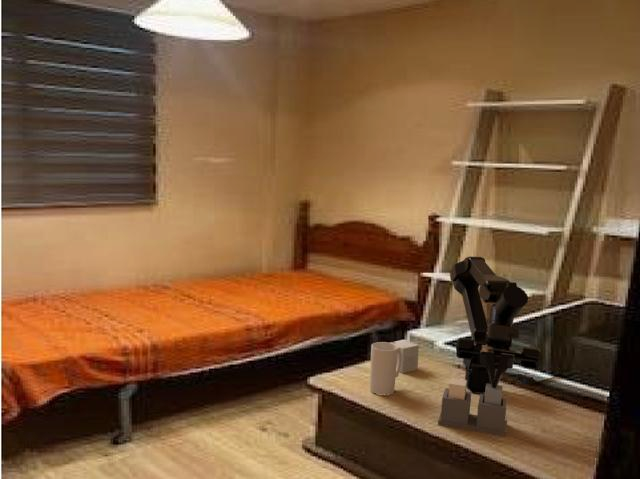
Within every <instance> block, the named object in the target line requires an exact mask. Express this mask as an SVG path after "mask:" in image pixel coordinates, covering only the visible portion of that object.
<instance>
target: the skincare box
mask: <svg viewBox="0 0 640 479" xmlns="http://www.w3.org/2000/svg"><path fill="white" fill-rule="evenodd" d="M389 343H392V344H395V345H397V346H399V347H400V350H401V353H402V364H401V368H400V372H399V373H401V374H405V373H410V372H413V371H417V370H418V368H419V353H420V352H419V349H420V345H419V344H416V343H414V342H412V341H409V340H407V339H400V340H396V341H391V342H389ZM397 364H398V355H397ZM396 367H397V365H396Z"/></svg>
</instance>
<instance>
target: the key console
mask: <svg viewBox="0 0 640 479" xmlns="http://www.w3.org/2000/svg"><path fill="white" fill-rule="evenodd" d="M448 394H449V387H445V388H444V391H443V395H442V398H441V410H440V413H439V417H438V419H437V420H438V421H437V425H439V426H446V427H450V428H456V429H463V430H468V431H474V432H479V433H484V434H489V435H495V436H501V437H507V429H508V427H507V426H508V420H507V419H506V415H507V414H506V413H507V404H508V403H507V402H508V397H504V396H502V398H501V406H499V405H492V404H486V403H484V399H485V393H479V399H478V404H477V414H471V412H470V411H471V401H472V392H471V391H467V390H466V397H465V400H462V399H456V398H450V397H448Z"/></svg>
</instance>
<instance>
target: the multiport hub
mask: <svg viewBox="0 0 640 479" xmlns="http://www.w3.org/2000/svg"><path fill="white" fill-rule="evenodd" d="M557 368H558V369H560V368H559V367H557ZM515 380H516V381H518V382H520V383H523V384H525V385H527V386H531V385H533V384H537V382H536V381H535V380H534V379H533V377H530V376H527V375H522V374H517V373H516V378H515Z"/></svg>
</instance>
